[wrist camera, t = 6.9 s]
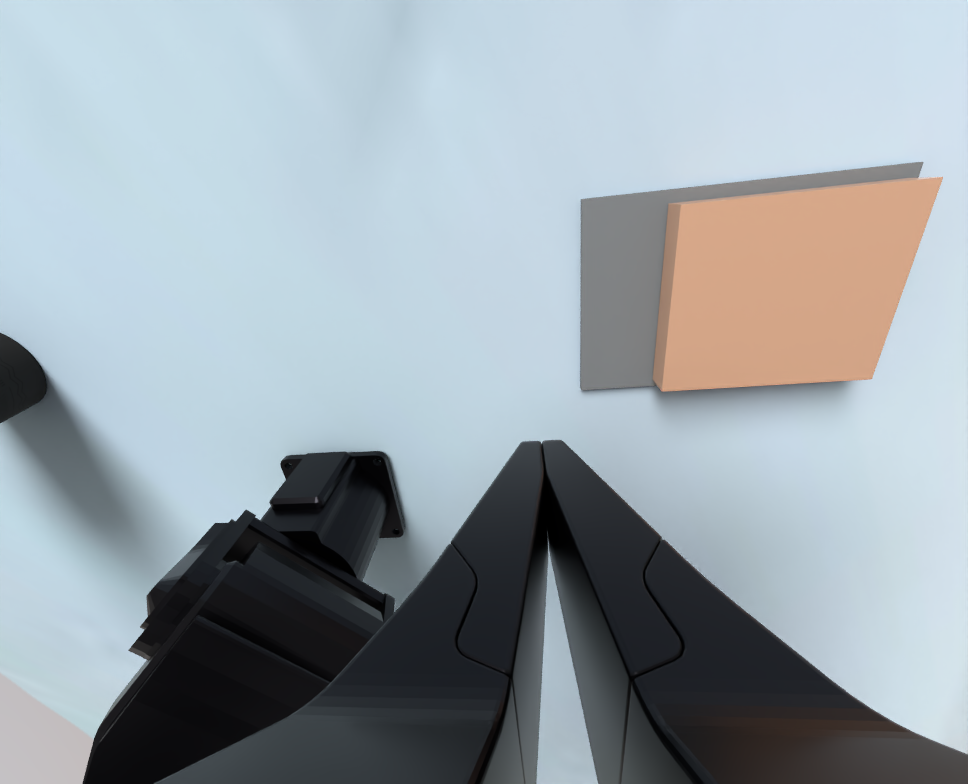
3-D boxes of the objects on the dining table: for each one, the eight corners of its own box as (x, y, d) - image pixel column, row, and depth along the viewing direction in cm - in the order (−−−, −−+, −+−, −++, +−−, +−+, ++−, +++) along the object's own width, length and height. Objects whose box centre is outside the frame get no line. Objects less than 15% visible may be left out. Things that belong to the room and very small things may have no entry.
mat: (849, 371, 20) (853, 373, 20) (580, 387, 21) (581, 390, 21) (916, 162, 16) (923, 162, 16) (580, 199, 17) (582, 199, 17)
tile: (651, 377, 20) (844, 365, 19) (661, 391, 19) (871, 379, 18) (666, 203, 17) (904, 178, 16) (680, 204, 15) (943, 177, 14)
